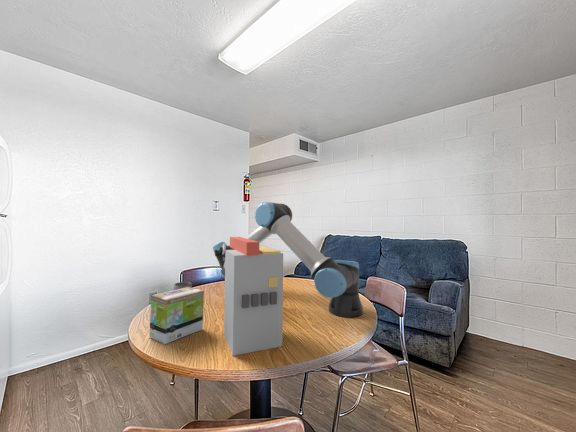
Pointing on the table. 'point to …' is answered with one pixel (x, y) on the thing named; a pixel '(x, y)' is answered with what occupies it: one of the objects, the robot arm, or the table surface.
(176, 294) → the tea box
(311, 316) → the table surface
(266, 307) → the breaker panel
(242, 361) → the table surface
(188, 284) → the cup
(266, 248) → the ochre pad
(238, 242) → the bar
